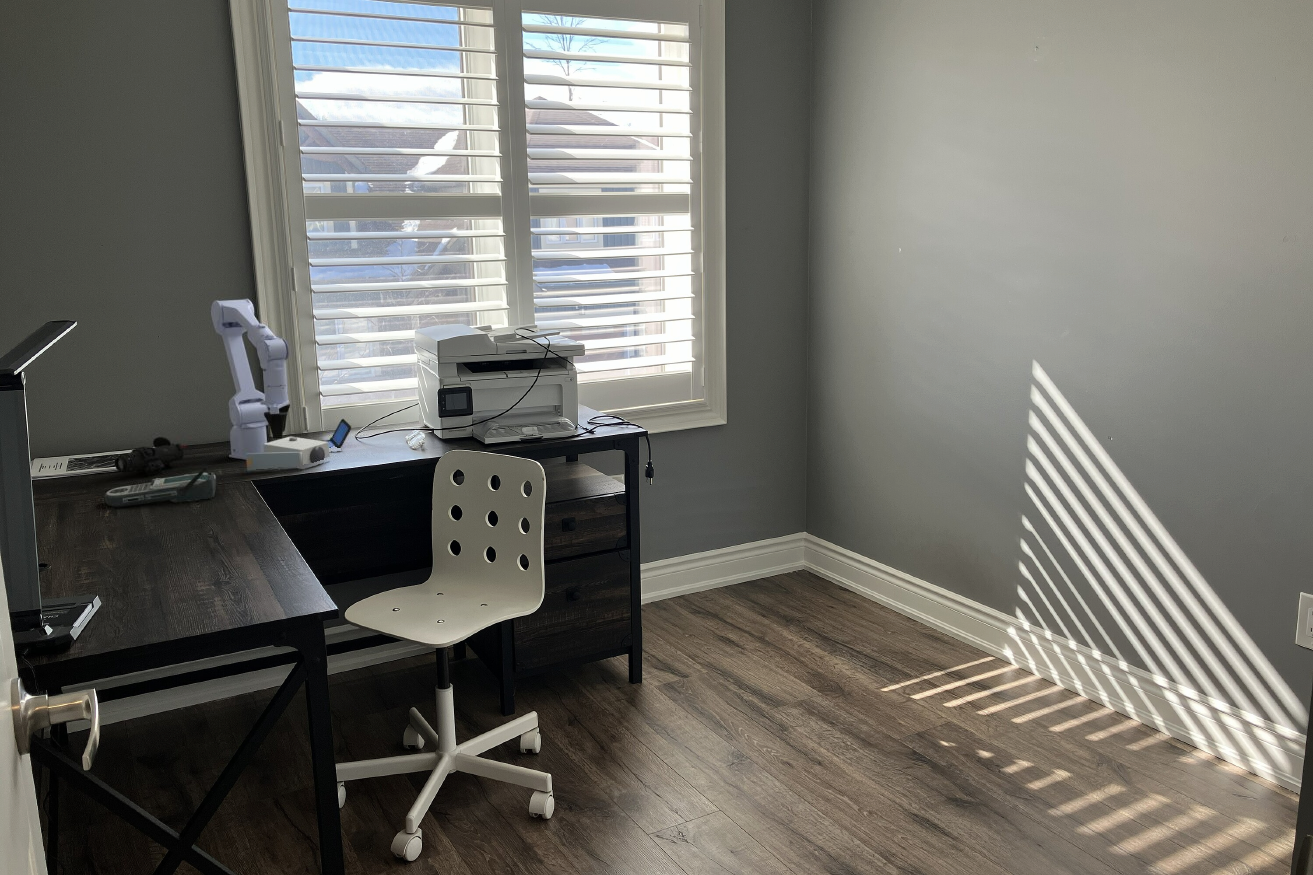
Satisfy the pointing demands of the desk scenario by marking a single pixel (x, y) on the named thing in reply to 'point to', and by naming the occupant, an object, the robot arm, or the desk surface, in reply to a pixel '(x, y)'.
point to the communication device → (165, 490)
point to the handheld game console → (339, 435)
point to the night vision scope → (150, 457)
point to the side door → (273, 460)
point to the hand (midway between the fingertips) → (279, 434)
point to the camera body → (300, 448)
